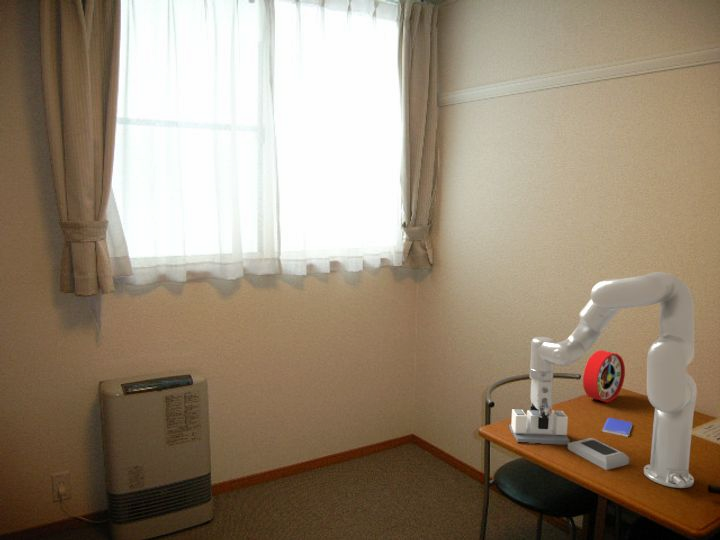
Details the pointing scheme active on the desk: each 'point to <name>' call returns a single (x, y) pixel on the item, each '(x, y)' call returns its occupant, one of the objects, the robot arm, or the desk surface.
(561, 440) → the board
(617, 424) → the hard drive
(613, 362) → the toy clock
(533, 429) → the module block
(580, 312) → the robot arm
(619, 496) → the desk surface
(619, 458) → the grey bevelled device
